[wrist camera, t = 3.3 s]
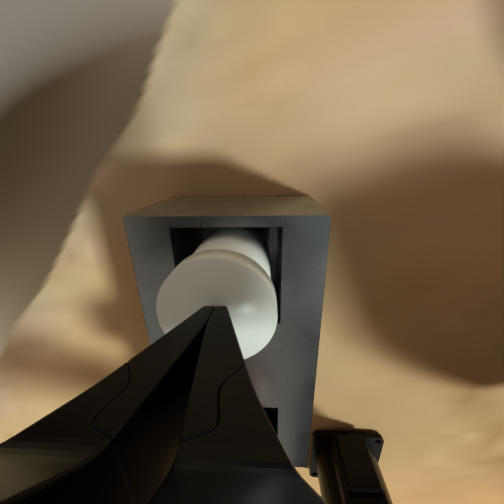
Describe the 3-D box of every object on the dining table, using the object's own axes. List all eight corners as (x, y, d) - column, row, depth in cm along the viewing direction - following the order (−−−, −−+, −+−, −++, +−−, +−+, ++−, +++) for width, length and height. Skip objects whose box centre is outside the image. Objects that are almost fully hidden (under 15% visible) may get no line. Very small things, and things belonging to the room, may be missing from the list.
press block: (296, 388, 22) (307, 467, 16) (197, 384, 22) (174, 460, 17) (308, 195, 16) (331, 215, 10) (172, 196, 16) (122, 216, 11)
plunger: (273, 291, 15) (276, 364, 9) (201, 290, 15) (165, 361, 10) (273, 219, 13) (278, 259, 8) (193, 220, 13) (146, 259, 8)
